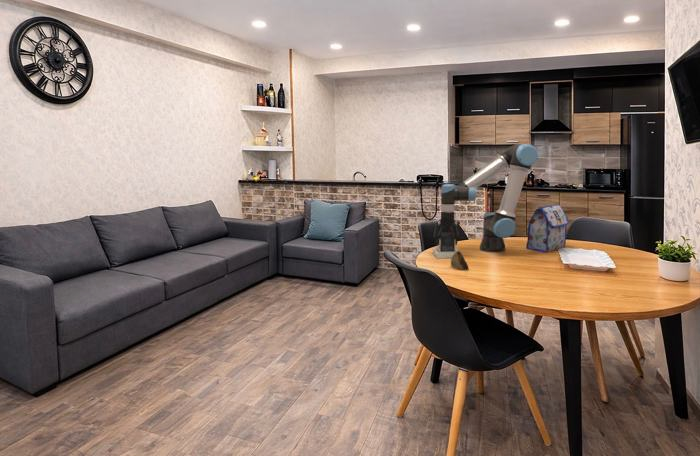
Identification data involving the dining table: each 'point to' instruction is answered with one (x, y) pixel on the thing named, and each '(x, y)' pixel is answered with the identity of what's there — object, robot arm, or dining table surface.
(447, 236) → the box
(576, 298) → the dining table surface
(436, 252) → the tray
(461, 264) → the rock
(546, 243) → the lunch bag
